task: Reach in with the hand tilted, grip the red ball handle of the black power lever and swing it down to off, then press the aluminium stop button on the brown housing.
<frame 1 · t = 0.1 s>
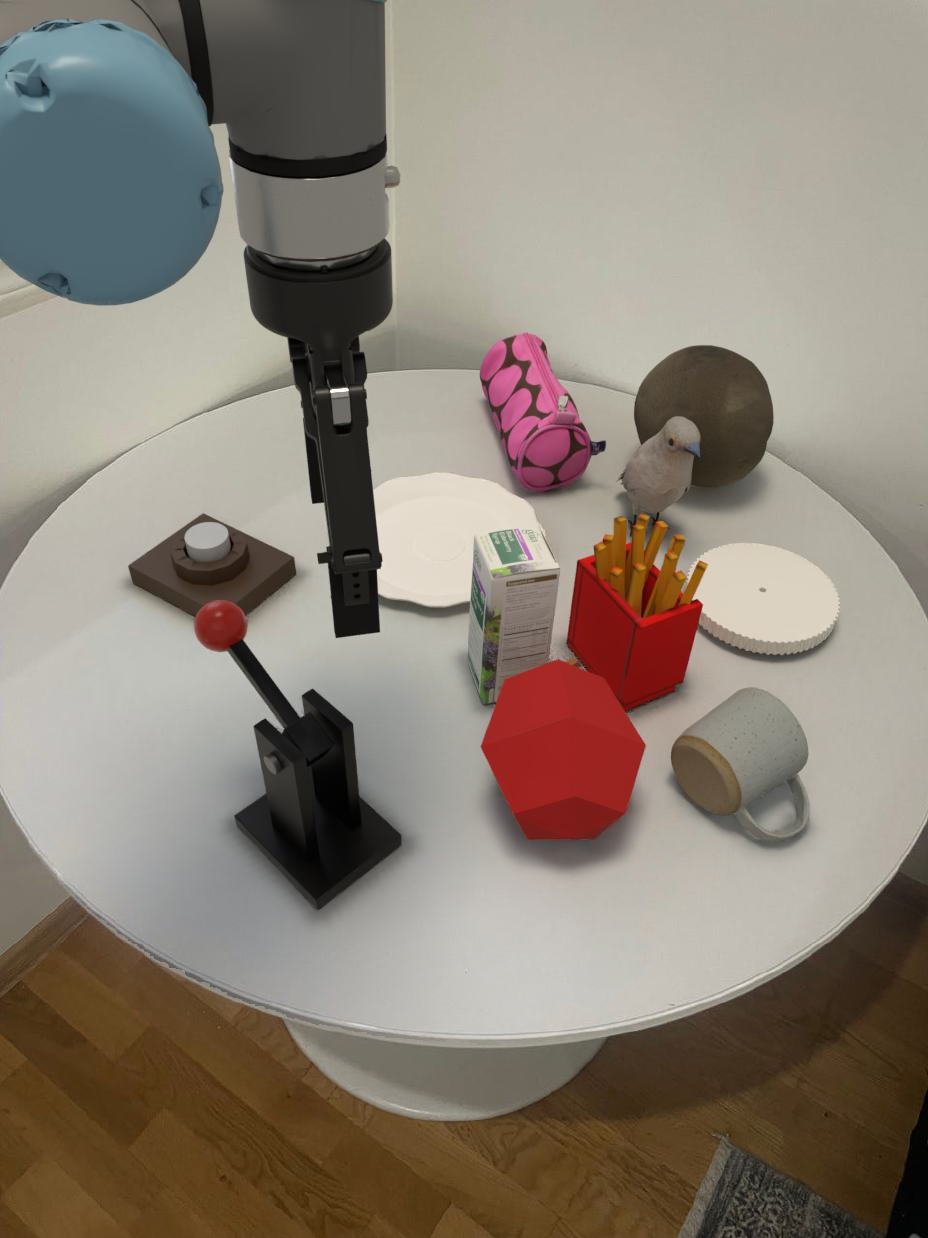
hand: (343, 560, 65), 21 cm above the table, tool pointing down, fingers open, 13 cm apart
stop button: (207, 542, 93), point 4 cm above the table, slide at 0.1 cm
pencil case: (531, 444, 114), on the table
plate: (439, 547, 100), on the table
bird: (646, 531, 103), on the table
plastic lid: (756, 611, 94), on the table
french fries container: (623, 668, 89), on the table
red faceted polyhedron: (553, 799, 78), on the table
ceramic mug: (741, 793, 79), on the table
brown round ball: (690, 480, 110), on the table
power lever: (261, 680, 68), point 13 cm above the table, hinge at 28.0°
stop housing: (215, 578, 96), on the table
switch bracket: (318, 835, 75), on the table
syrup box: (505, 678, 87), on the table
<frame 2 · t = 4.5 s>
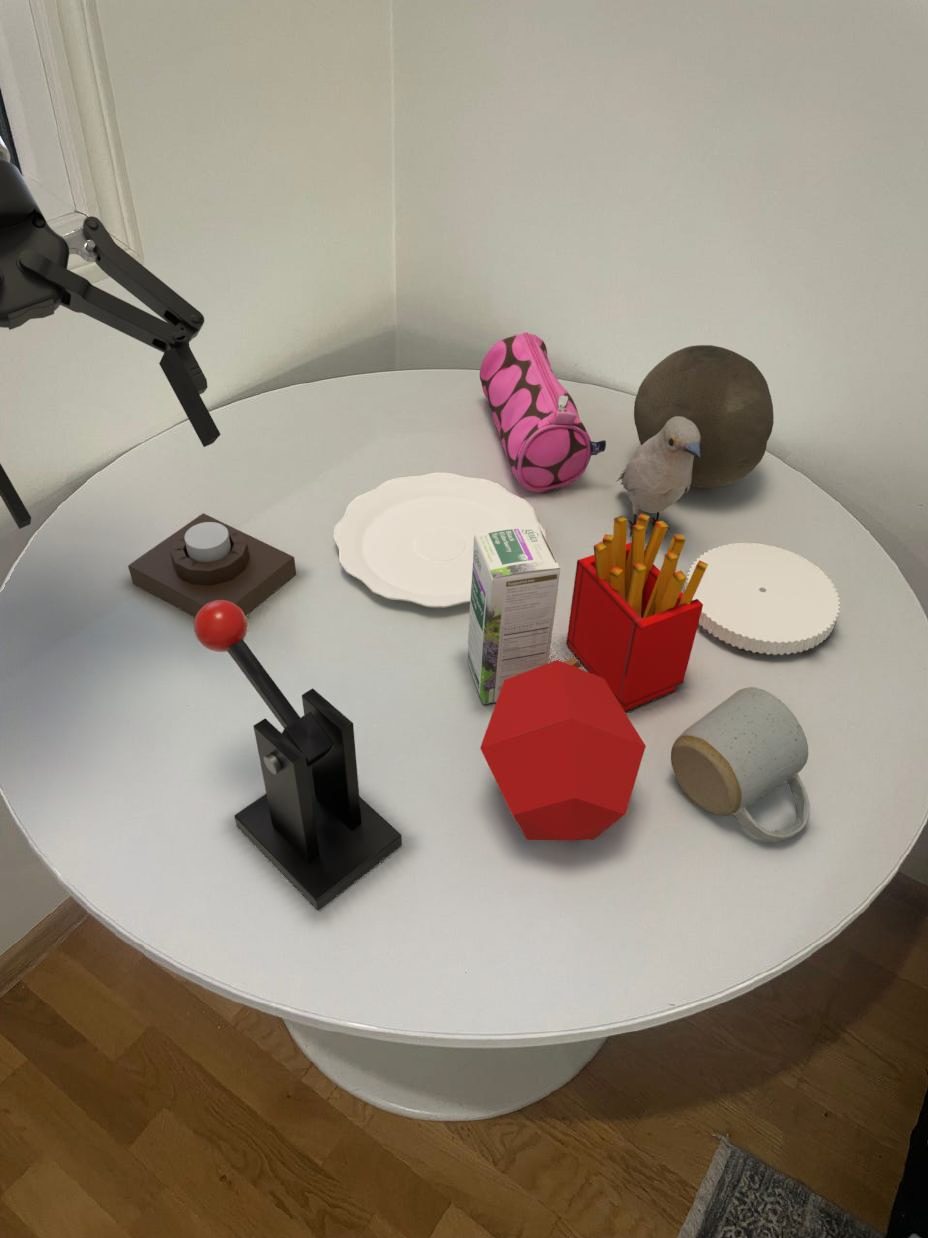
hand: (122, 481, 67), 24 cm above the table, tool tilted 45°, fingers open, 13 cm apart
nothing on the table moved.
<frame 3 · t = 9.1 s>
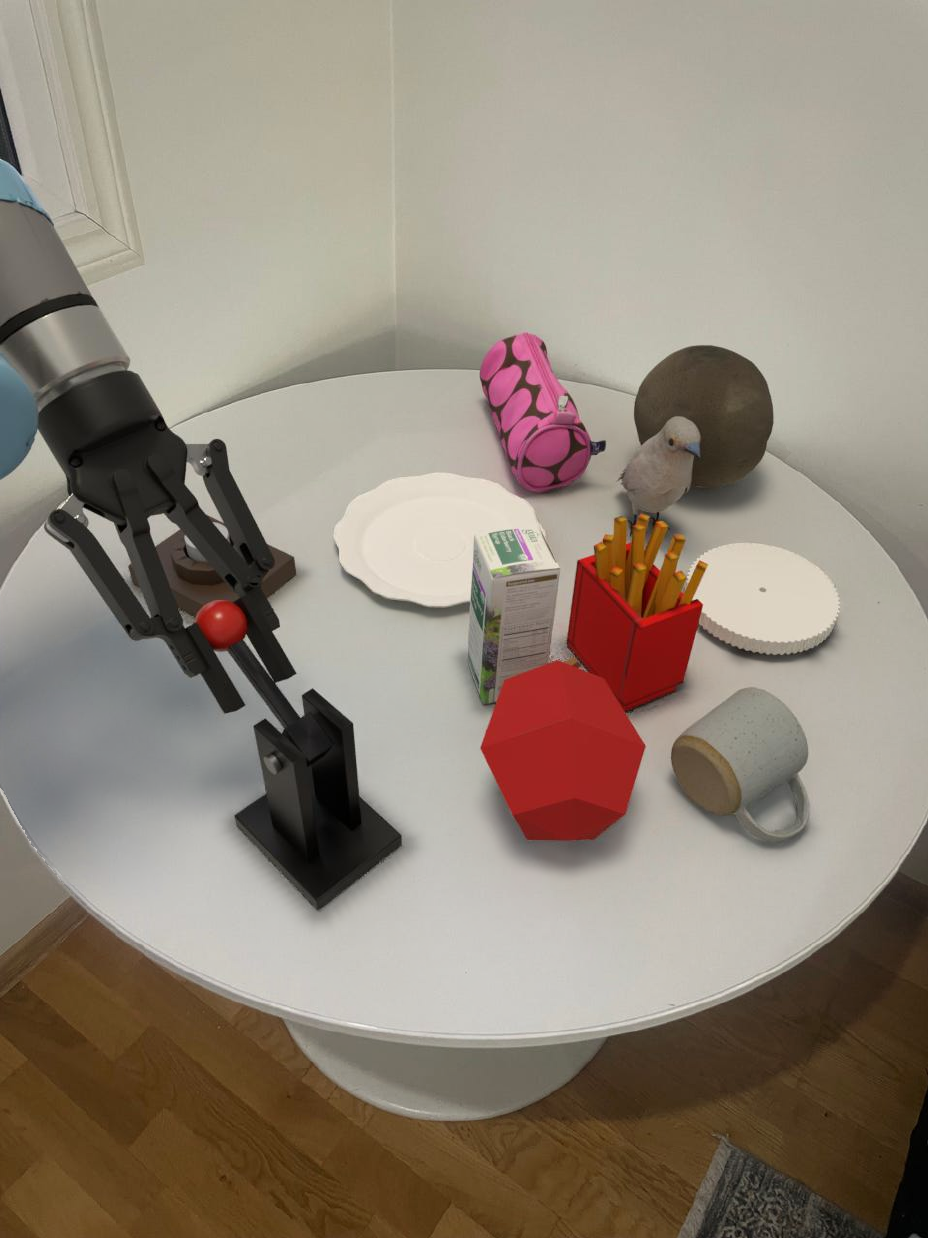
hand: (260, 693, 69), 12 cm above the table, tool tilted 45°, fingers closed on power lever, 4 cm apart
power lever: (261, 680, 68), point 13 cm above the table, hinge at 28.0°, touching gripper
everything else where it was.
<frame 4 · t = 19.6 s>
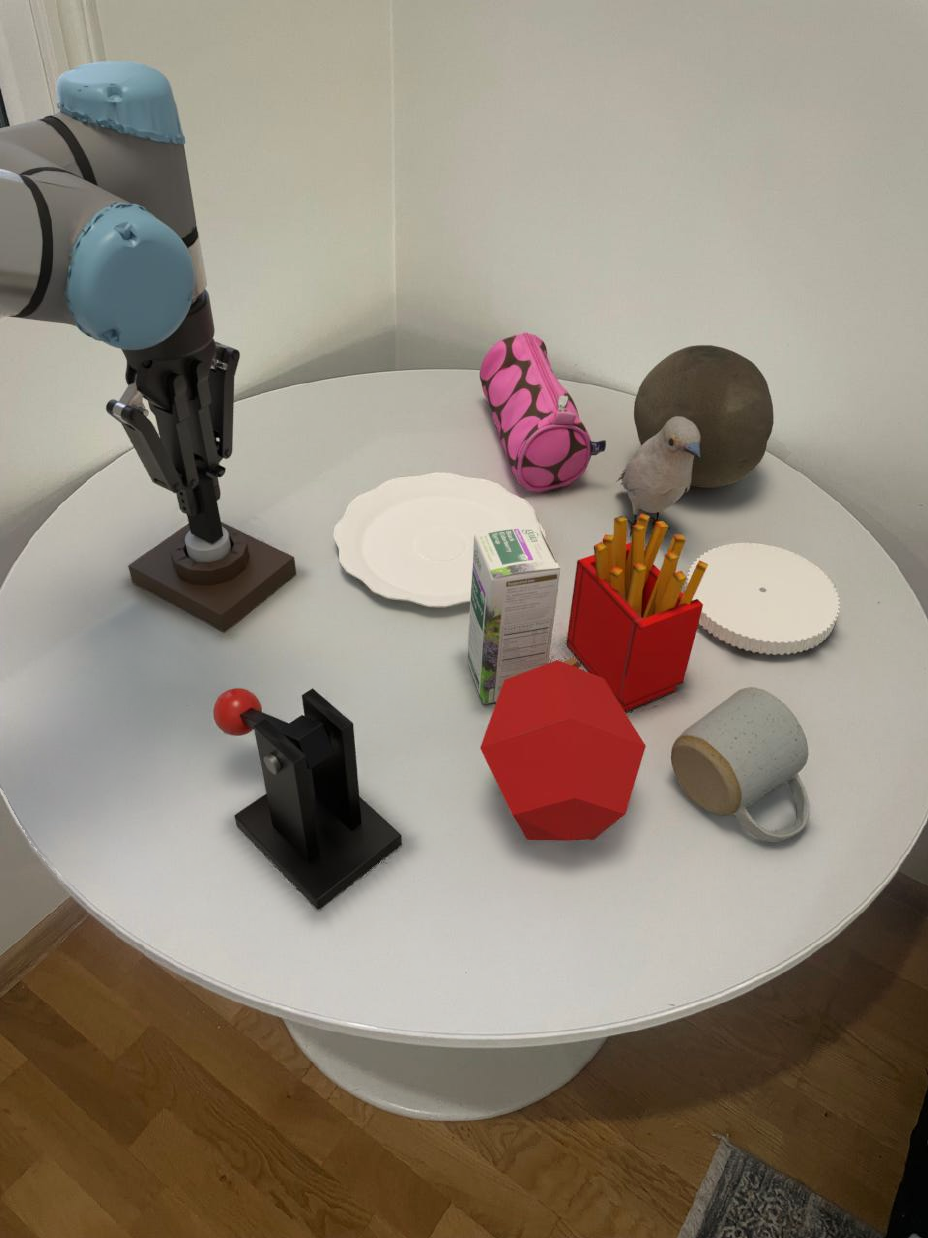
hand: (207, 534, 92), 5 cm above the table, tool pointing down, fingers closed
stop button: (208, 544, 93), point 4 cm above the table, slide at -0.1 cm, touching gripper
power lever: (268, 725, 71), point 9 cm above the table, hinge at -26.2°
everything else where it was.
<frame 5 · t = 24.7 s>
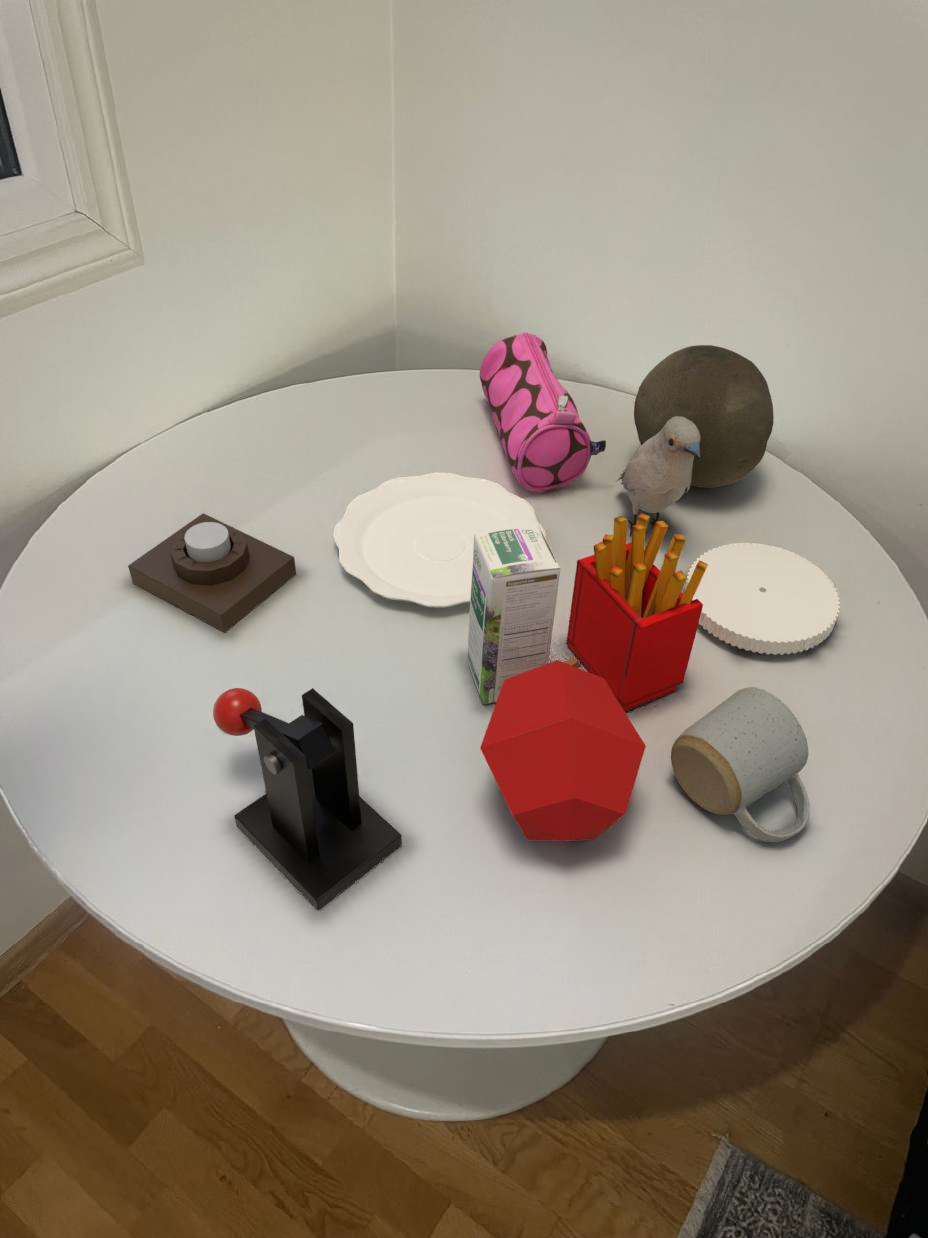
stop button: (207, 542, 93), point 4 cm above the table, slide at 0.1 cm
everything else where it was.
at the end: power lever at -26° (first picture: +28°); stop button pushed in 1.0 cm at the most during the clip, back to where it started at the end; stop button slide at 0.1 cm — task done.
